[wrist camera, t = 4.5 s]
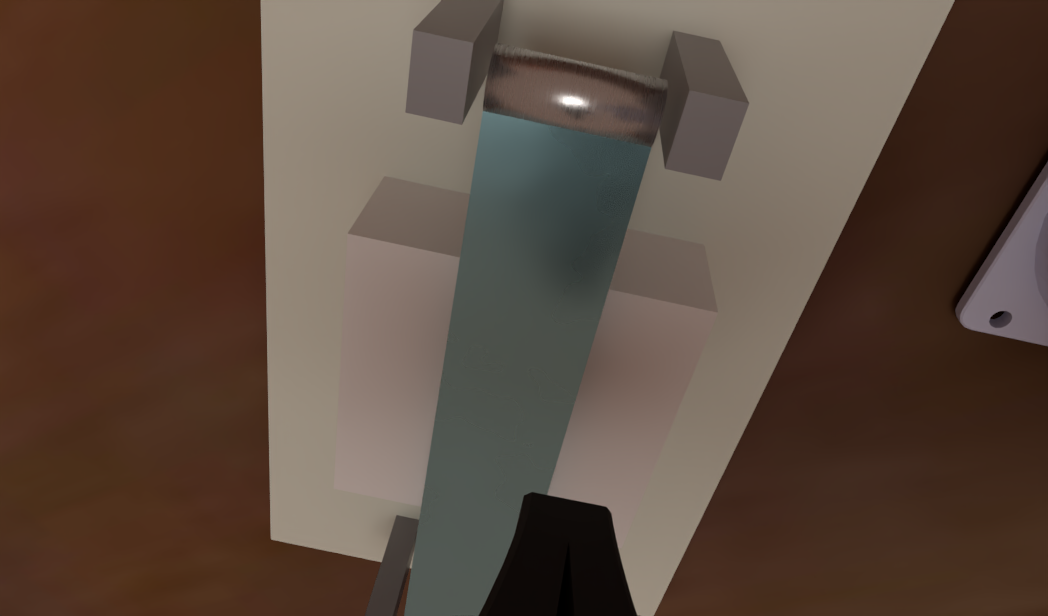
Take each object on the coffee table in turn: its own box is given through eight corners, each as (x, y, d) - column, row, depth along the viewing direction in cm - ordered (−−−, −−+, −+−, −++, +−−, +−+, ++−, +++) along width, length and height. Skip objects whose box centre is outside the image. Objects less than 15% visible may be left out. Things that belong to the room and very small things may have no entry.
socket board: (951, -42, 15) (1093, 17, 11) (651, 593, 27) (658, 745, 23) (277, -192, 15) (129, -197, 10) (281, 517, 27) (215, 655, 23)
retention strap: (665, 71, 13) (669, 93, 12) (502, 626, 23) (497, 663, 22) (500, 35, 13) (490, 53, 12) (408, 607, 23) (399, 642, 22)
